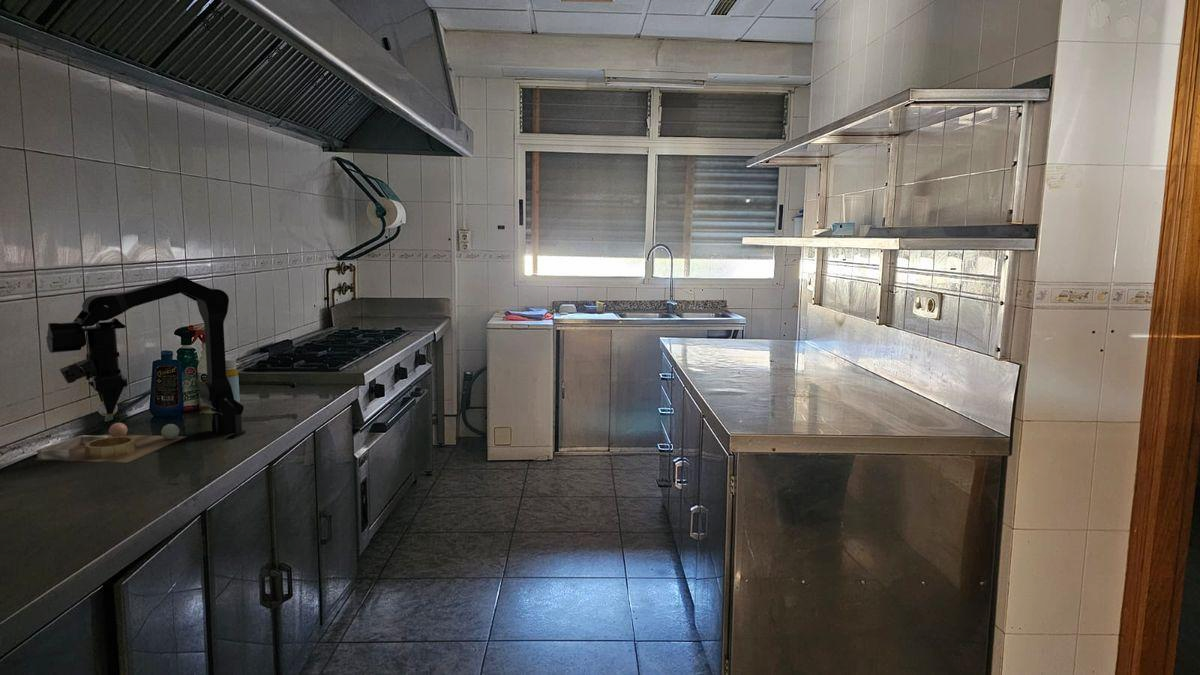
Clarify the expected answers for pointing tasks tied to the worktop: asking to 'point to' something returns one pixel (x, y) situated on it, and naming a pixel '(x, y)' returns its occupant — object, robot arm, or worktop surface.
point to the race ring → (110, 447)
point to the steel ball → (103, 411)
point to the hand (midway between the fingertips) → (108, 412)
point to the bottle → (233, 377)
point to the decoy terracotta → (118, 430)
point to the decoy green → (170, 431)
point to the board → (76, 452)
